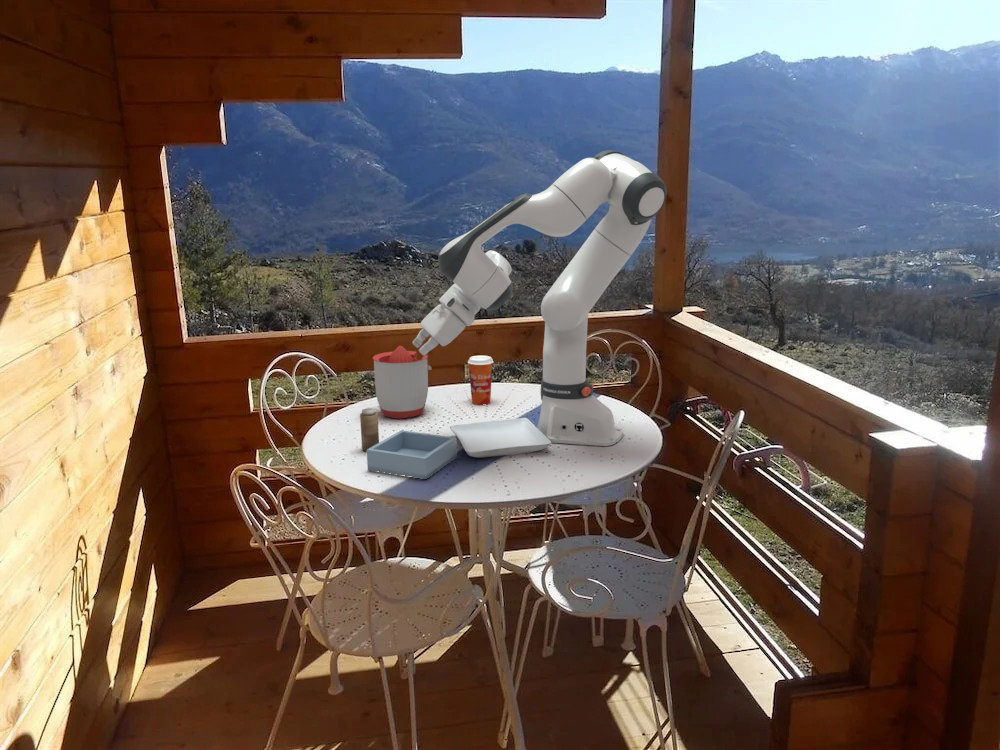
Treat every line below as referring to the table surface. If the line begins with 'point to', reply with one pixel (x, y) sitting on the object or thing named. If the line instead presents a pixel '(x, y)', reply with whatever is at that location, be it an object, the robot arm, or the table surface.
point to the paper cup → (480, 379)
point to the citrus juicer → (401, 383)
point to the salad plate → (500, 437)
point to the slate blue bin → (412, 454)
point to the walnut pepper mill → (369, 428)
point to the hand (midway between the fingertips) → (417, 349)
